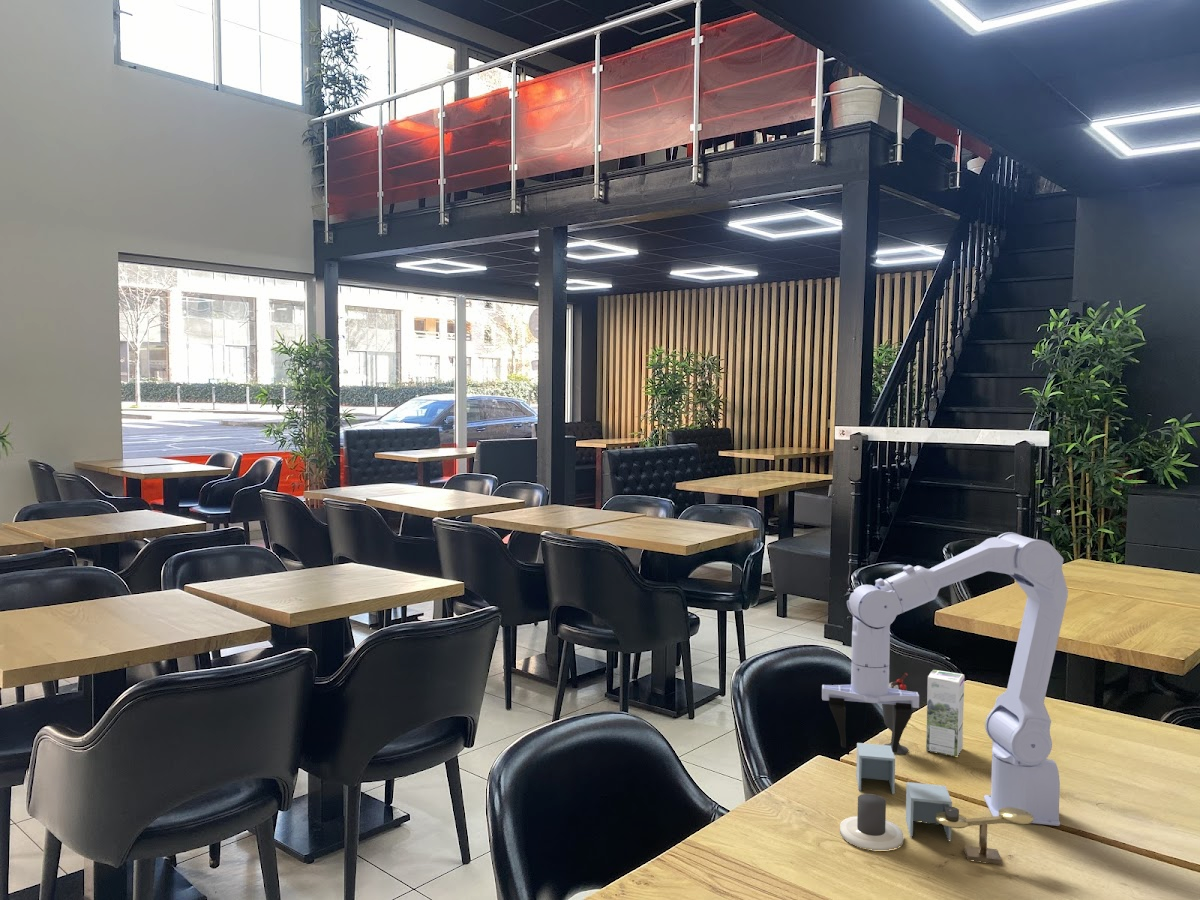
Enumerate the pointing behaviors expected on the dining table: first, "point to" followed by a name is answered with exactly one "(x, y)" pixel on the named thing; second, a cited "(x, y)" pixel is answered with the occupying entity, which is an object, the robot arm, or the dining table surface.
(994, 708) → the robot arm
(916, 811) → the cover
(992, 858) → the balance
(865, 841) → the dish
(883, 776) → the cover
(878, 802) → the dark grey cylinder
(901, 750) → the sundae
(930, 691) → the syrup box
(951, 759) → the dining table surface
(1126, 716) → the dining table surface
